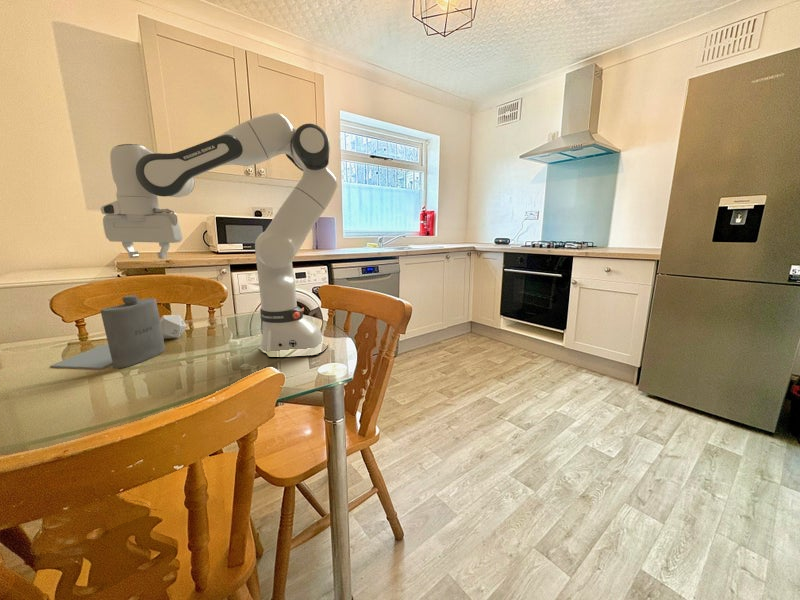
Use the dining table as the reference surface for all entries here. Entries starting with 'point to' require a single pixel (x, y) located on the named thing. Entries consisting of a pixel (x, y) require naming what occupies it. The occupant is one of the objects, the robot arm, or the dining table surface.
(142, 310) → the grey flat lettered container
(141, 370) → the dining table surface
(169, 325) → the die
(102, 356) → the mat
